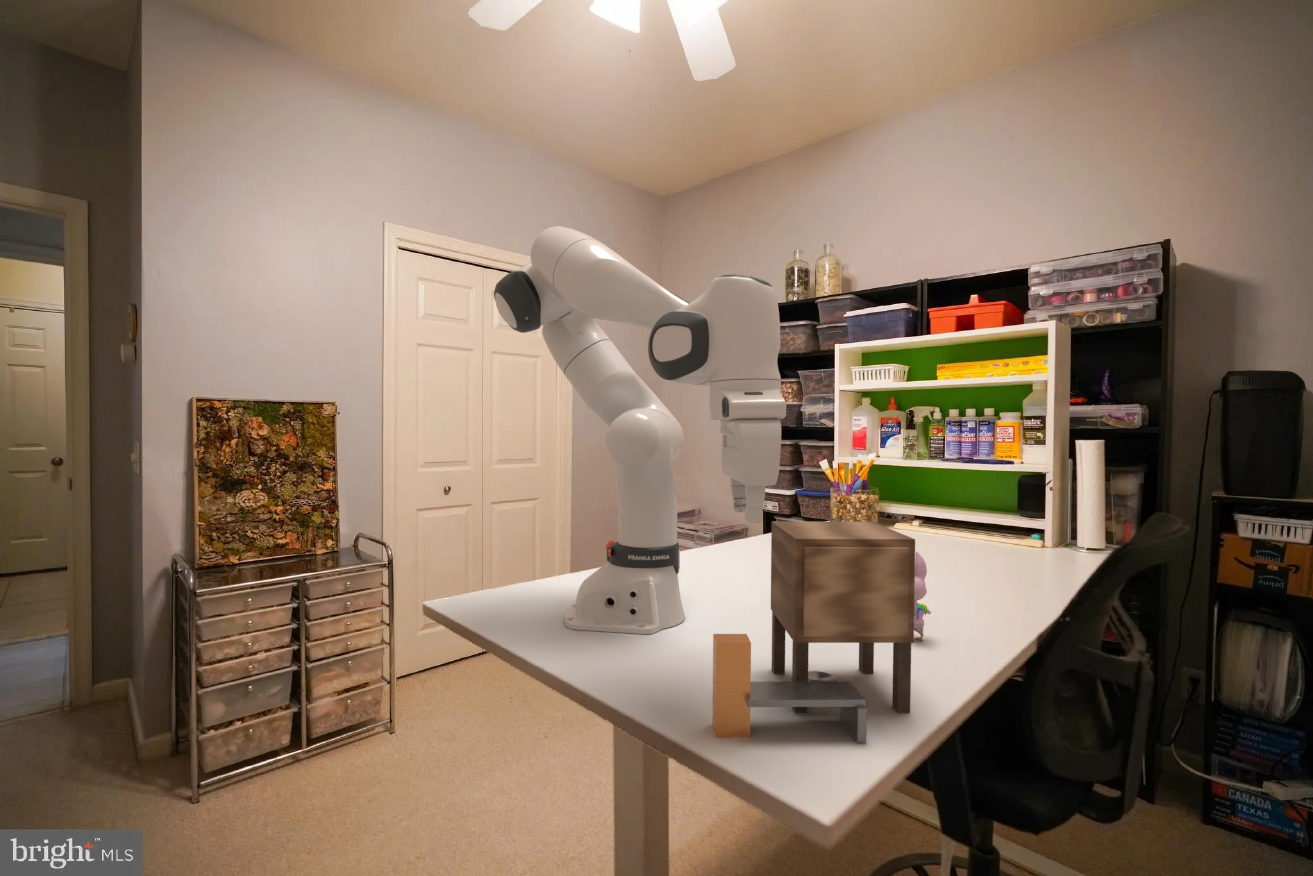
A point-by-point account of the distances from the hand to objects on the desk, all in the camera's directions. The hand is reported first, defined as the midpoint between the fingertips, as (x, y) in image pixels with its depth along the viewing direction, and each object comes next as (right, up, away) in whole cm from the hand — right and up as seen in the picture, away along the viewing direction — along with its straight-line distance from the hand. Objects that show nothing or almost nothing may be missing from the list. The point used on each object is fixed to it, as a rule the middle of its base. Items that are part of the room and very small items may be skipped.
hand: (746, 516), depth 75 cm
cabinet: (+13, -25, +7) cm, 29 cm away
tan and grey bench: (+4, -25, -4) cm, 25 cm away
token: (+11, -25, +7) cm, 28 cm away
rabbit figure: (+32, -25, +26) cm, 48 cm away
